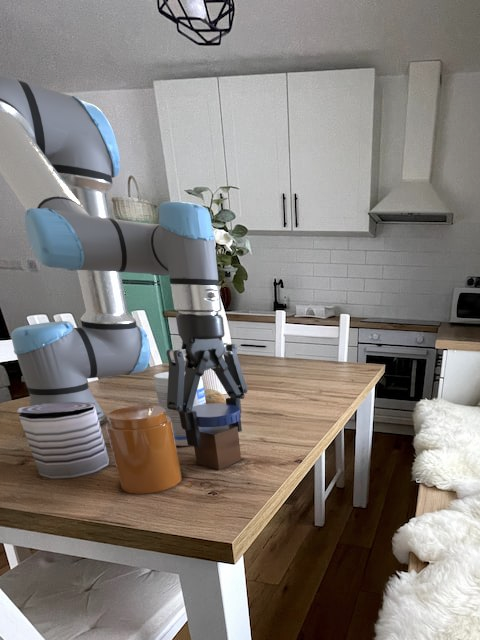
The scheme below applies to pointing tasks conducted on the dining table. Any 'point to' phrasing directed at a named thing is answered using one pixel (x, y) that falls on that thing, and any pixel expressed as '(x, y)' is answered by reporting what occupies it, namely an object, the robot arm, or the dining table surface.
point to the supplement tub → (178, 431)
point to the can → (64, 438)
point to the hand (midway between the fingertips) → (216, 437)
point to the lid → (216, 414)
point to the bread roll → (214, 397)
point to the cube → (218, 446)
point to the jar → (144, 449)
